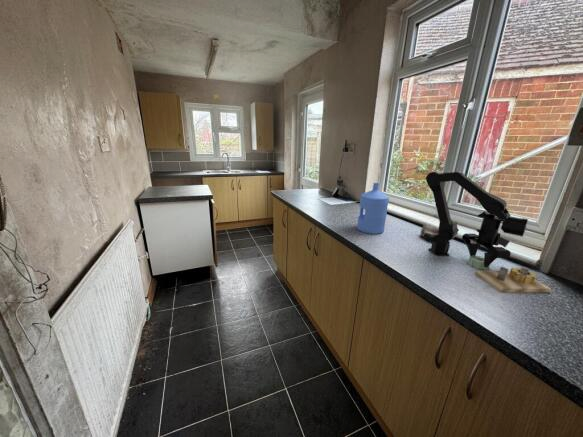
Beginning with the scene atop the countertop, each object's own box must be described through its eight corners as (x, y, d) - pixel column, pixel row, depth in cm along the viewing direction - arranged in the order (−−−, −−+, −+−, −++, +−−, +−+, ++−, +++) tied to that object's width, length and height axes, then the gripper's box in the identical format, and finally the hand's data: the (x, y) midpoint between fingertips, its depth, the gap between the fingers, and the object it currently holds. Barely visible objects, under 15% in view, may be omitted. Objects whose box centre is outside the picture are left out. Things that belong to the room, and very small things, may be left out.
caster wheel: (439, 248, 123) (419, 242, 127) (438, 236, 132) (419, 231, 135) (444, 238, 120) (423, 232, 123) (443, 227, 128) (423, 221, 132)
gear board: (500, 292, 83) (505, 277, 81) (474, 273, 95) (478, 260, 93) (549, 292, 84) (555, 277, 82) (517, 274, 95) (522, 260, 93)
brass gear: (528, 286, 84) (531, 279, 83) (504, 276, 90) (507, 269, 90) (538, 282, 87) (541, 275, 86) (514, 272, 93) (517, 265, 92)
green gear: (476, 269, 98) (478, 263, 97) (464, 261, 105) (465, 255, 104) (493, 269, 98) (495, 263, 97) (479, 261, 105) (481, 255, 104)
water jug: (386, 228, 143) (393, 182, 134) (380, 236, 130) (388, 187, 121) (361, 223, 151) (366, 180, 142) (353, 230, 138) (358, 183, 129)
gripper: (530, 238, 87) (517, 274, 92) (489, 221, 105) (480, 253, 110) (501, 238, 87) (489, 274, 92) (465, 221, 105) (456, 252, 110)
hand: (478, 262), depth 101 cm, fingers closed on green gear, 7 cm apart
